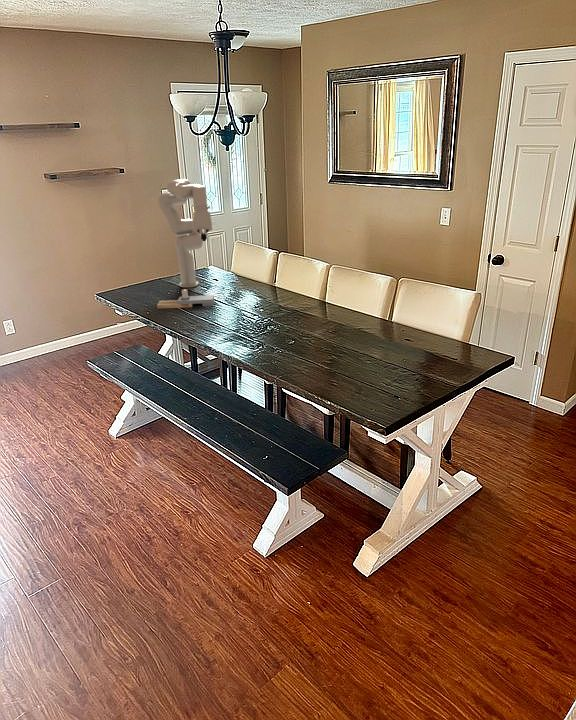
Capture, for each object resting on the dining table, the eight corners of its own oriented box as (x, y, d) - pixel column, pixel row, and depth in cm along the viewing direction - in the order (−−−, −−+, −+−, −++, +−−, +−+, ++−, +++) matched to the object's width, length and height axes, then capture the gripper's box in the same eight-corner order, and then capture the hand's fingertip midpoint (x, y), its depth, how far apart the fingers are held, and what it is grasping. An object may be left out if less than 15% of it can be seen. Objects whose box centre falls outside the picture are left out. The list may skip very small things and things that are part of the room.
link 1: (159, 304, 318) (159, 300, 317) (194, 302, 318) (193, 299, 317) (157, 308, 311) (156, 305, 310) (192, 307, 311) (191, 303, 310)
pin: (183, 304, 316) (182, 289, 312) (189, 303, 316) (187, 289, 312) (183, 306, 313) (181, 291, 309) (188, 305, 313) (186, 290, 309)
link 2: (180, 303, 318) (179, 296, 316) (214, 301, 318) (213, 295, 316) (178, 307, 311) (177, 301, 309) (213, 306, 311) (212, 299, 309)
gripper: (214, 206, 312) (217, 238, 319) (188, 208, 312) (192, 240, 319) (213, 209, 305) (216, 241, 313) (186, 210, 305) (190, 242, 313)
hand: (204, 240), depth 316 cm, fingers closed
